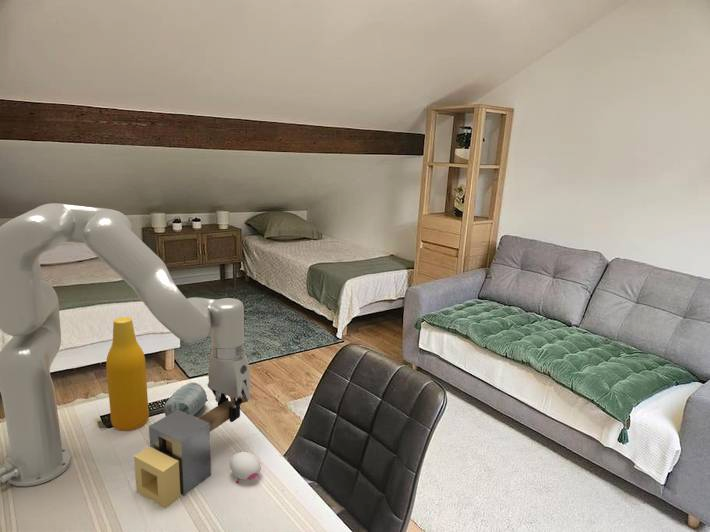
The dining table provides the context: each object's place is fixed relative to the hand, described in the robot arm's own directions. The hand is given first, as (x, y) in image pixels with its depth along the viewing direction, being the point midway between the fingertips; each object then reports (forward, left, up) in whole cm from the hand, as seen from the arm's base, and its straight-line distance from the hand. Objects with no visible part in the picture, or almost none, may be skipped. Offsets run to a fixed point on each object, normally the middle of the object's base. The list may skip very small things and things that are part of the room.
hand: (229, 416), depth 122 cm
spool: (+3, +18, -8) cm, 20 cm away
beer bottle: (-7, +28, -8) cm, 30 cm away
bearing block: (-15, 0, -7) cm, 17 cm away
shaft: (-9, 0, +1) cm, 9 cm away
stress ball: (-7, -12, -8) cm, 16 cm away
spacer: (-22, 0, -8) cm, 23 cm away
